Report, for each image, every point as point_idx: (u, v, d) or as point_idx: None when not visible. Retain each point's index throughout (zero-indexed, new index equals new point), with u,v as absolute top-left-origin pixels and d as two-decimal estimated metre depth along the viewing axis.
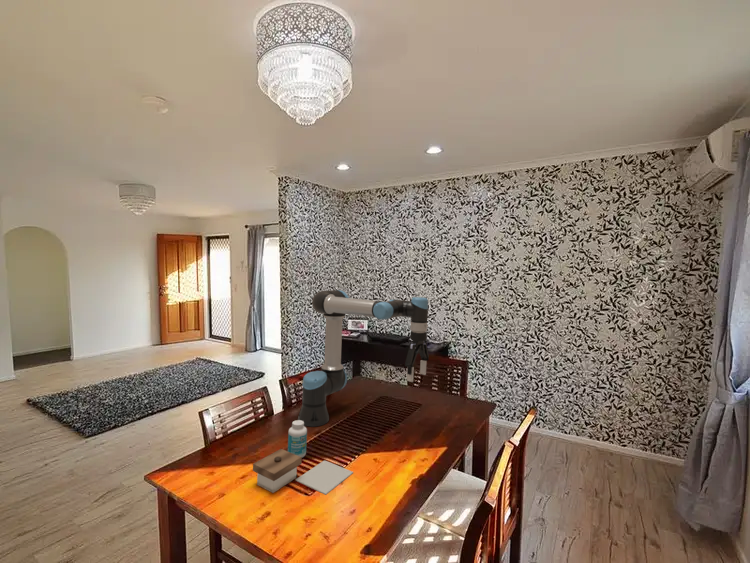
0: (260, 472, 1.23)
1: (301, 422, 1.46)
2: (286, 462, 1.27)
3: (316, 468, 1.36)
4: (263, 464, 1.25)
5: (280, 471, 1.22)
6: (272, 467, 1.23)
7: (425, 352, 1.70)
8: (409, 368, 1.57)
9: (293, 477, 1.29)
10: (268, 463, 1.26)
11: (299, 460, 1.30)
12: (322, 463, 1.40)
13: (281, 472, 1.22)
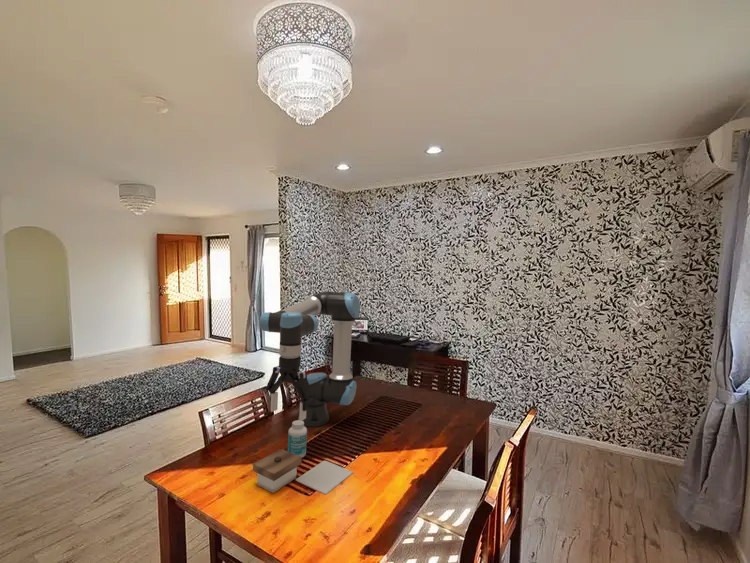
0: (260, 472, 1.23)
1: (301, 422, 1.46)
2: (286, 462, 1.27)
3: (316, 468, 1.36)
4: (263, 464, 1.25)
5: (280, 471, 1.22)
6: (272, 467, 1.23)
7: None
8: None
9: (293, 477, 1.29)
10: (268, 463, 1.26)
11: (299, 460, 1.30)
12: (322, 463, 1.40)
13: (281, 472, 1.22)
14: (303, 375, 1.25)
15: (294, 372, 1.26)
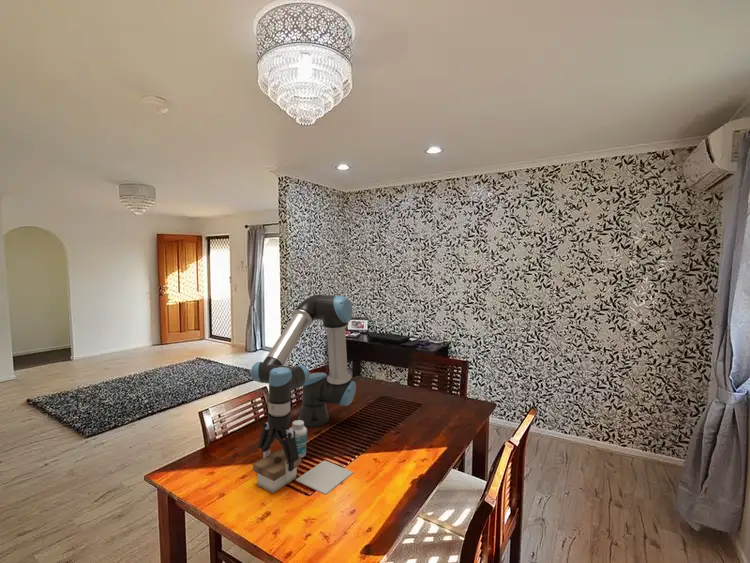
0: (260, 472, 1.23)
1: (301, 422, 1.46)
2: None
3: (316, 468, 1.36)
4: (263, 464, 1.25)
5: (280, 471, 1.22)
6: (272, 467, 1.23)
7: None
8: None
9: (293, 477, 1.29)
10: (268, 463, 1.26)
11: (299, 460, 1.30)
12: (322, 463, 1.40)
13: (281, 472, 1.22)
14: (291, 435, 1.23)
15: (283, 430, 1.25)
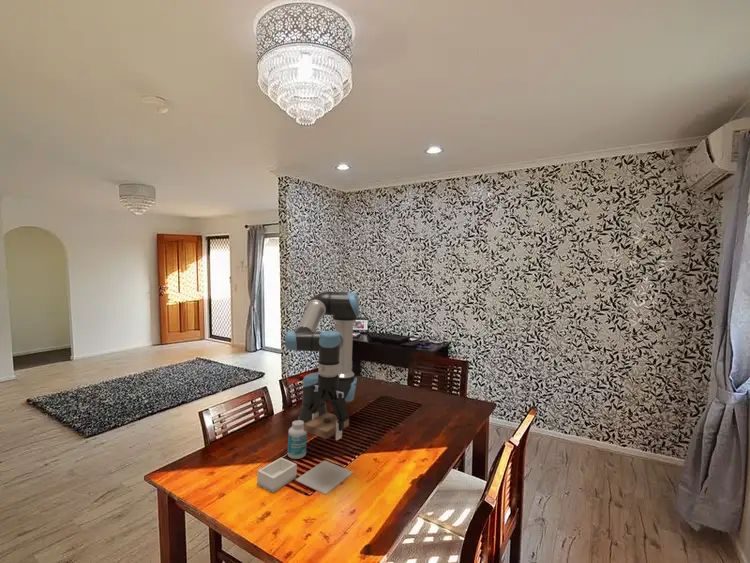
0: (311, 431, 1.27)
1: (301, 422, 1.46)
2: (335, 423, 1.30)
3: (316, 468, 1.36)
4: (313, 424, 1.28)
5: (331, 430, 1.25)
6: (323, 427, 1.26)
7: None
8: None
9: (293, 477, 1.29)
10: (318, 423, 1.29)
11: (347, 422, 1.33)
12: (322, 463, 1.40)
13: (332, 431, 1.26)
14: (342, 395, 1.27)
15: (333, 391, 1.28)
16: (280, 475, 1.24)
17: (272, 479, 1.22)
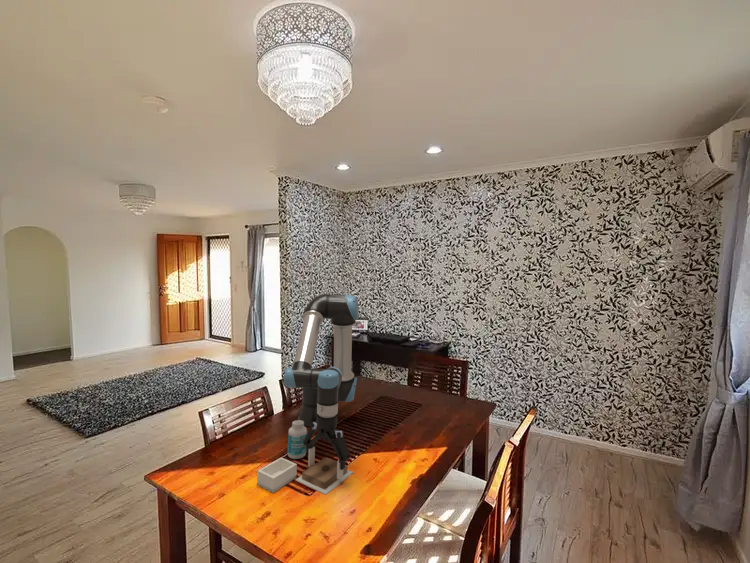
0: (309, 480, 1.27)
1: (301, 422, 1.46)
2: (333, 471, 1.31)
3: None
4: (312, 472, 1.29)
5: (330, 479, 1.26)
6: (321, 476, 1.27)
7: None
8: None
9: (293, 477, 1.29)
10: (317, 471, 1.30)
11: (345, 468, 1.34)
12: None
13: (330, 481, 1.26)
14: (340, 434, 1.27)
15: (331, 431, 1.29)
16: (280, 475, 1.24)
17: (272, 479, 1.22)
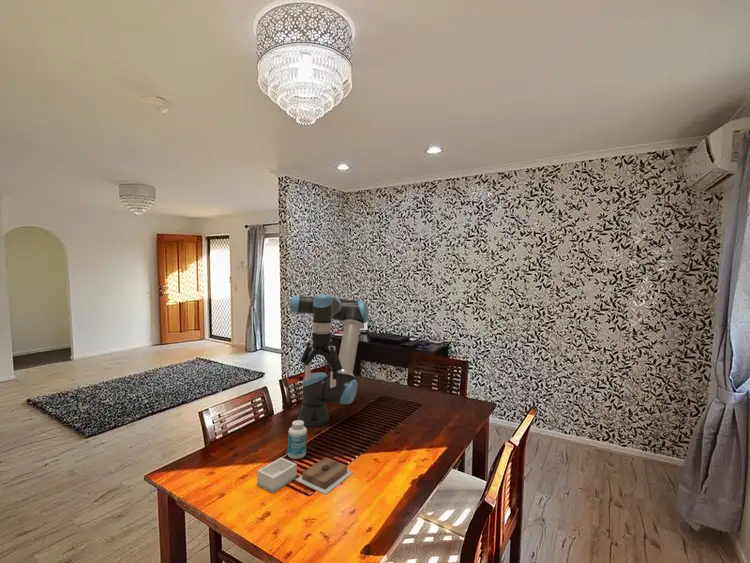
0: (309, 480, 1.27)
1: (301, 422, 1.46)
2: (333, 471, 1.31)
3: None
4: (312, 472, 1.29)
5: (330, 479, 1.26)
6: (321, 476, 1.27)
7: None
8: None
9: (293, 477, 1.29)
10: (317, 471, 1.30)
11: (345, 468, 1.34)
12: None
13: (330, 481, 1.26)
14: (333, 348, 1.44)
15: (325, 346, 1.45)
16: (280, 475, 1.24)
17: (272, 479, 1.22)
